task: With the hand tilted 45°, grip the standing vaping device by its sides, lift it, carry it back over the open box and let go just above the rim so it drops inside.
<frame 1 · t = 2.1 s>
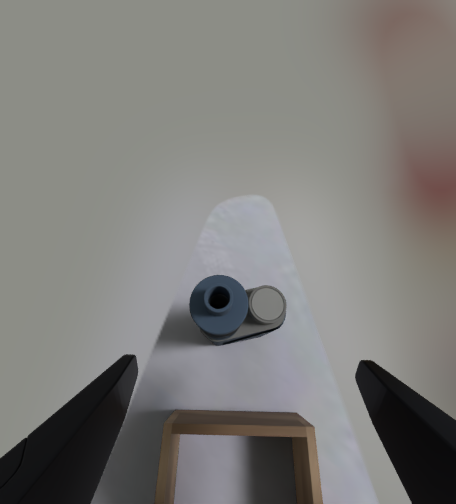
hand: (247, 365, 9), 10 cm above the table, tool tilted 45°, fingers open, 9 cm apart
vaping device: (236, 326, 19), on the table
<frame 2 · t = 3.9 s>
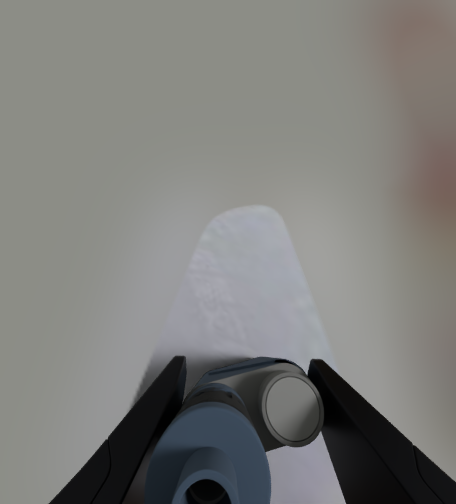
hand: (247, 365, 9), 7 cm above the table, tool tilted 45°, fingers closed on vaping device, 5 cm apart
vaping device: (238, 383, 15), on the table, touching gripper
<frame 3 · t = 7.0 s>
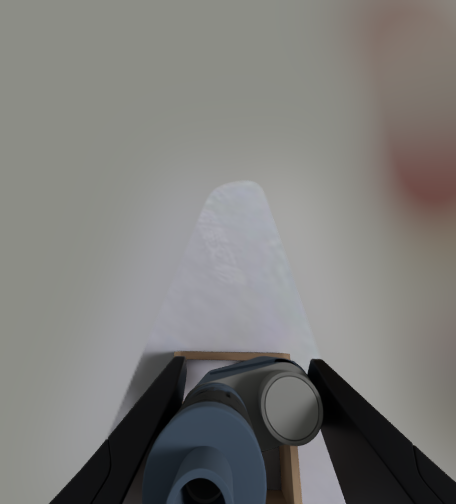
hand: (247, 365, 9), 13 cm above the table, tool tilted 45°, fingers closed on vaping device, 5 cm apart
vaping device: (240, 382, 15), point 6 cm above the table, touching gripper
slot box: (229, 417, 19), on the table
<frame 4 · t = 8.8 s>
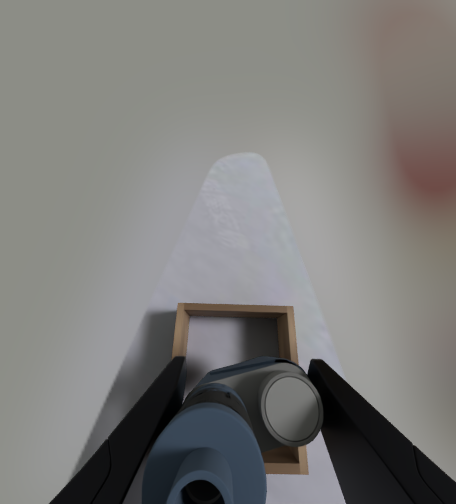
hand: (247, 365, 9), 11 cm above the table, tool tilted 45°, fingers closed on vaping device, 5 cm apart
vaping device: (240, 383, 15), point 4 cm above the table, touching gripper
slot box: (232, 372, 18), on the table
when the fingers open (11 cm above the table, at t = 9.9 s): vaping device drops 4 cm, resting in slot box.
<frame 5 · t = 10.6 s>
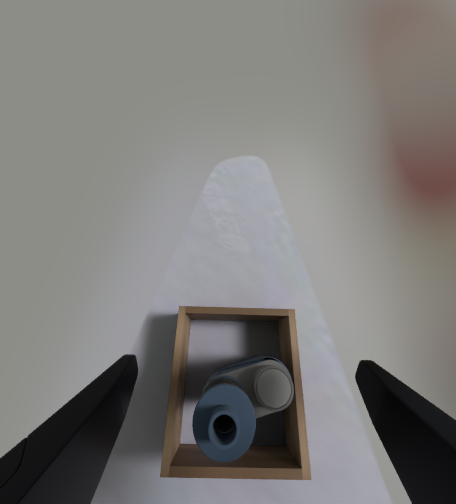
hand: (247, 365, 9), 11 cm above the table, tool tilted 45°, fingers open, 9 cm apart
vaping device: (240, 377, 19), resting in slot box
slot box: (234, 376, 18), on the table
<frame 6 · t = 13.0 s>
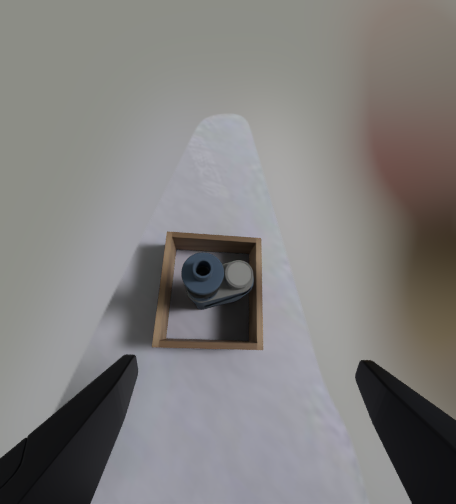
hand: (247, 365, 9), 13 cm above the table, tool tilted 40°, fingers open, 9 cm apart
vaping device: (216, 294, 23), resting in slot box
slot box: (210, 292, 23), on the table
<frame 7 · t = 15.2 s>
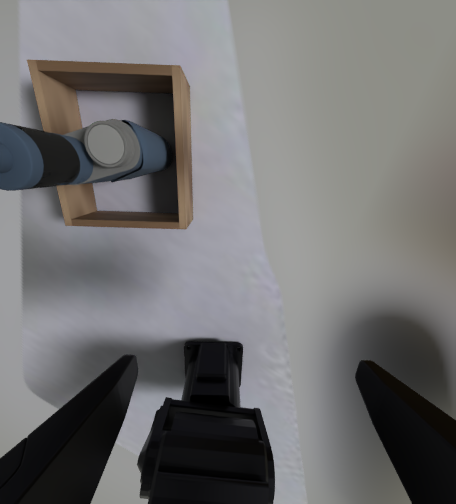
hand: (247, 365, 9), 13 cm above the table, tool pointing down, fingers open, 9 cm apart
vaping device: (144, 159, 18), resting in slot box
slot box: (136, 157, 18), on the table
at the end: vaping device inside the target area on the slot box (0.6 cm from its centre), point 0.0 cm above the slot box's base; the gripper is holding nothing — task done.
